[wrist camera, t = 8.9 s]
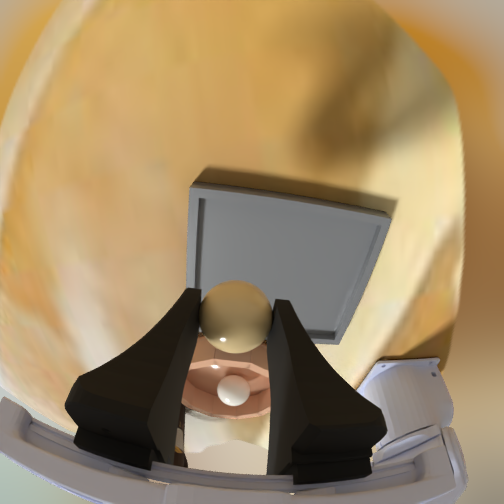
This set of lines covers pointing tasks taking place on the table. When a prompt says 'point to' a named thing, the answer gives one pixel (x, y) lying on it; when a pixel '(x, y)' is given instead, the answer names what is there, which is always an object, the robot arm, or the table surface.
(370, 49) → the table surface
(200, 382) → the bowl
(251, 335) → the tan ball
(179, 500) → the robot arm
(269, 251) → the parts tray
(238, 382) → the white ball
